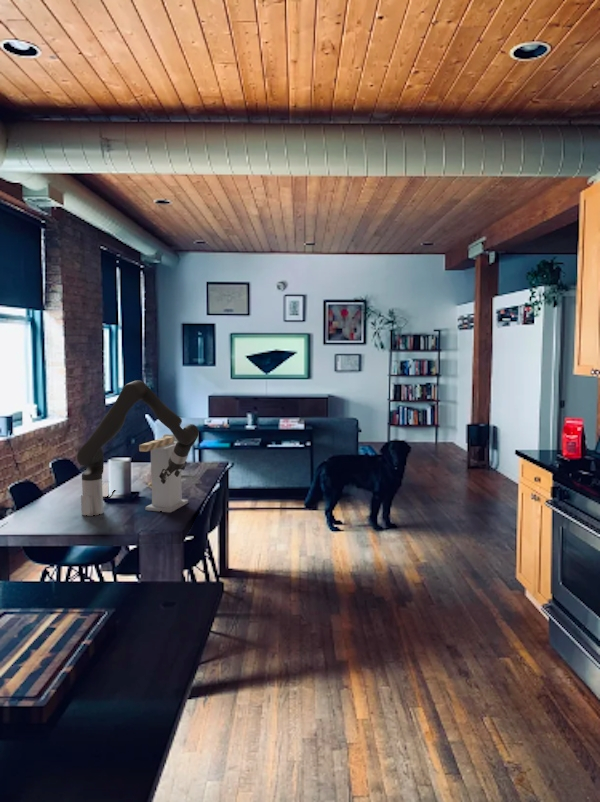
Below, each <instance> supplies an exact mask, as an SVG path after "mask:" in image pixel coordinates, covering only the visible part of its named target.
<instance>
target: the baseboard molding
mask: <svg viewBox="0 0 600 802" xmlns="http://www.w3.org/2000/svg"><path fill="white" fill-rule="evenodd" d="M103 482H104V483H103ZM108 483H109V482H105V480H104V481H103V480H102V491H103V497H107V496H108Z"/></svg>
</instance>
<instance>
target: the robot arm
mask: <svg viewBox="0 0 600 802" xmlns="http://www.w3.org/2000/svg"><path fill="white" fill-rule="evenodd" d="M140 401H142V402H143V403H145V404H146V405H147V406H148V407H149V408H150V409H151V410H152V412H153V413H154V415H155V416H156V417H155V418H157V419H158V421H159V422H161V424H163V425H164V426H165V427H166V428H168V429H169V430H170V432H171V433H172V434H173V435H174V436H175V437H176V439H177V440H178V442H177V443H176V445H175V448H174V450H173V451H172V453H171V456H170V458H169V461H168V464H169V466H168V468H167V469H166V470H165V469H163V470H162V472H161V474H160V476H159V477H160V478H161V482H162V483H163V484H164V483H165V482H166V479H167V478H168V477H170V476H171V475H172V474H173V473H174V472H175V473H174V474H175V476H176V477H178V476H179V474H180V472H181V473H182V471H184V470H186V469H185V468H186V466H187V464H188V462H187V460H188V457H189V453H190V452H191V449H192V446H193V445H194V444H195V442H196V441H197V439H198V437H199V435H200V430H199V428H198V426H197V425H195V424H188V425H186V426H184V427H183V428H182V427H181V424H182V423H183V419H182V418H181V417H180V416H179V415H178V414H177V413H175V412H174V411H173V410H171V409H170V408H169V407H168V406H167V405H166V404H165V403H164V402H163V401H162V400H161V399H160V398H159V397H158V396H157V395H156V394H155V393H154V391H153V390H152V389H151V388H150V387H149V386H148V385H147V384H146V383H145V382H144V381H143V380H140V379H139V380H134V381H131V382H128V383H126V384H125V385H124V386H123V387H122V389H121V391H120V393H119V394H118V397H117V399H116V401H114V404H113V405H112V406H111V407H110V408H109V410H108V411H107V412H106V414H105V415H104V416H103V418H102V419H101V421H100V423H99V424H98V426H97V427H96V428H95V429H94V431H93V432H92V434H91V436H90V437H89V438H88V440H87V441H86V442H85V443H84V444H83V445H82V446H81V447H80V449H79V450H78V452H77V455H76V460H77V463H78V464H79V465H80V466H83V467H86V469H85V470H84V471H83V472H82V473H81V490H82V491H81V492H82V495H80V506H81V515H82V516H86V515H87V517H94V516H93V515H95V516H98V515H99V514H100V515H102V514H103V513H104V498H103V491H102V484H103V482H102V481H103V473H104V452H103V451H104V450H103V446H105V445H106V444H107V443H108V442H110V441H111V440H112V439H114V438H115V437H116V436H117V434H119V432H120V430H121V429H122V428H123V426H124V424H125V421H126V418H127V414H128V413H129V411H130V410H131V408H132V407H133V406H135V404H136V403H138V402H140ZM168 471H169V473H170V474H169V473H168ZM166 475H167V476H166ZM100 515H99V516H100Z"/></svg>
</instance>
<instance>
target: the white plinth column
mask: <svg viewBox="0 0 600 802" xmlns="http://www.w3.org/2000/svg"><path fill="white" fill-rule="evenodd" d="M164 435H165V437H166V436H172V437H174V443H171V444H168V445H165V446H162V447H159V448H156V449H153V450H150V477H151V478H150V479H151V481H150V482H151V483H152V488H151V504H148V505H147V506H145V508H144V509H145V511H151V512H152V511H153V512H160V511H162V513H172V512H175V511H176V510H177V509H180V508H182V507H183V506H185V505H187V504H188V503H189V499H184V498H183V497H182V495H183V493H182V490H183V489H182V487H183V486H182V471H181V472H180V474H179V476H178V477H176V476H175V474H174V473H175V472H174V473H173V474H172V475H171V476H170V477H168V478H167V479H166V482H165V483H164V484H163V483H162V482H161V478H160V477H159V476H160V474H161V472H162V470H163V469H165V470H166V469H167V468H168V466H169V464H168V461H169V458H170V456H171V453H172V451H173V450H174V448H175V445H176V443H177V442H178V440H177V439H176V437H175V436H174V435H173V433H172V434H169V433H165V434H164ZM168 473H169V471H168ZM169 474H170V473H169ZM166 476H167V475H166Z"/></svg>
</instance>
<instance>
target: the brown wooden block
mask: <svg viewBox="0 0 600 802" xmlns="http://www.w3.org/2000/svg"><path fill="white" fill-rule="evenodd" d="M171 443H174V437H172V436H166V437H163V436H162V437H161V438H157V439H154V440H151V441H148V442H145V443H142V444H138V449H139V452H146V453H147V452H151V450H153V449H156V448H159V447H162V446H165V445H168V444H171Z"/></svg>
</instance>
